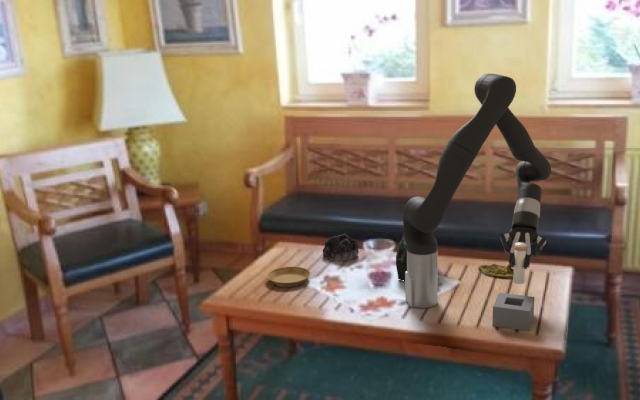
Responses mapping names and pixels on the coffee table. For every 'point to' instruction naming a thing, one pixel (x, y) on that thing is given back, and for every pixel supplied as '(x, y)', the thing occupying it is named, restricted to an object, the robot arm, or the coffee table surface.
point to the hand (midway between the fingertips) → (518, 267)
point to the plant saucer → (289, 276)
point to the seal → (497, 271)
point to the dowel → (519, 263)
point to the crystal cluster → (340, 248)
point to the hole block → (513, 311)
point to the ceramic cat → (404, 257)
